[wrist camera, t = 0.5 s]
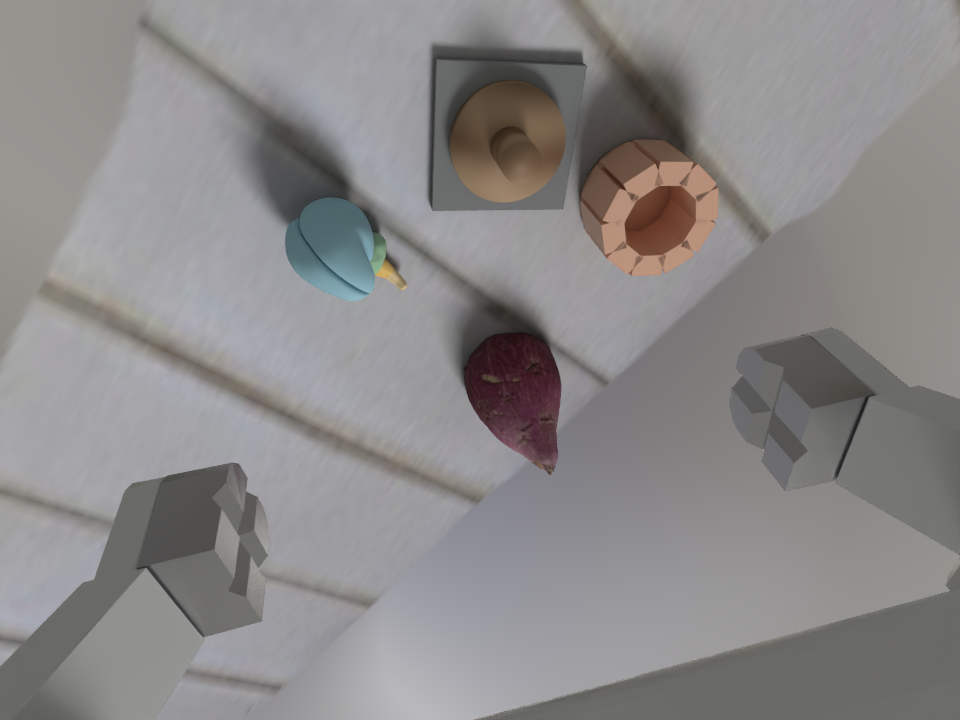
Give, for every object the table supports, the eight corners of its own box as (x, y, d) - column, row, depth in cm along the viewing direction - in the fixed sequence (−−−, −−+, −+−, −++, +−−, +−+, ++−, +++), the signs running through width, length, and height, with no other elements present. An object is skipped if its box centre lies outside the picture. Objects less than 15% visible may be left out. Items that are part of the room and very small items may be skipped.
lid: (451, 77, 46) (463, 95, 42) (570, 81, 48) (592, 98, 44) (446, 197, 52) (456, 222, 48) (552, 196, 54) (570, 221, 50)
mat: (435, 57, 46) (436, 59, 45) (583, 63, 48) (586, 65, 48) (431, 207, 53) (432, 210, 52) (560, 205, 55) (562, 209, 55)
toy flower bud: (389, 357, 52) (268, 285, 45) (377, 299, 58) (269, 228, 51) (447, 302, 50) (329, 217, 42) (427, 248, 56) (321, 166, 49)
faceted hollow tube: (589, 137, 52) (614, 161, 47) (701, 139, 54) (736, 162, 50) (569, 246, 58) (590, 277, 54) (670, 244, 61) (699, 273, 56)
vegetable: (548, 364, 71) (614, 467, 63) (470, 404, 71) (526, 513, 62) (535, 310, 63) (609, 420, 54) (446, 354, 62) (506, 472, 53)
